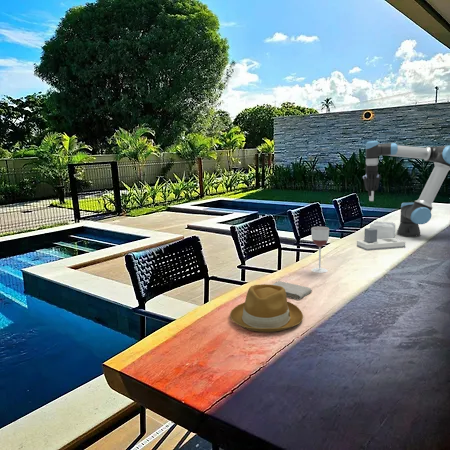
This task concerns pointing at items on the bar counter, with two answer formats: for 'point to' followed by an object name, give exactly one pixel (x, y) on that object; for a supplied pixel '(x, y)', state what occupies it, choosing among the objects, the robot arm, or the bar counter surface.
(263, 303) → the fedora
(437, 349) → the bar counter surface
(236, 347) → the bar counter surface
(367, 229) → the plug
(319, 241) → the wineglass
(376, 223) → the cable organizer
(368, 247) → the socket plate
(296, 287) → the washcloth
